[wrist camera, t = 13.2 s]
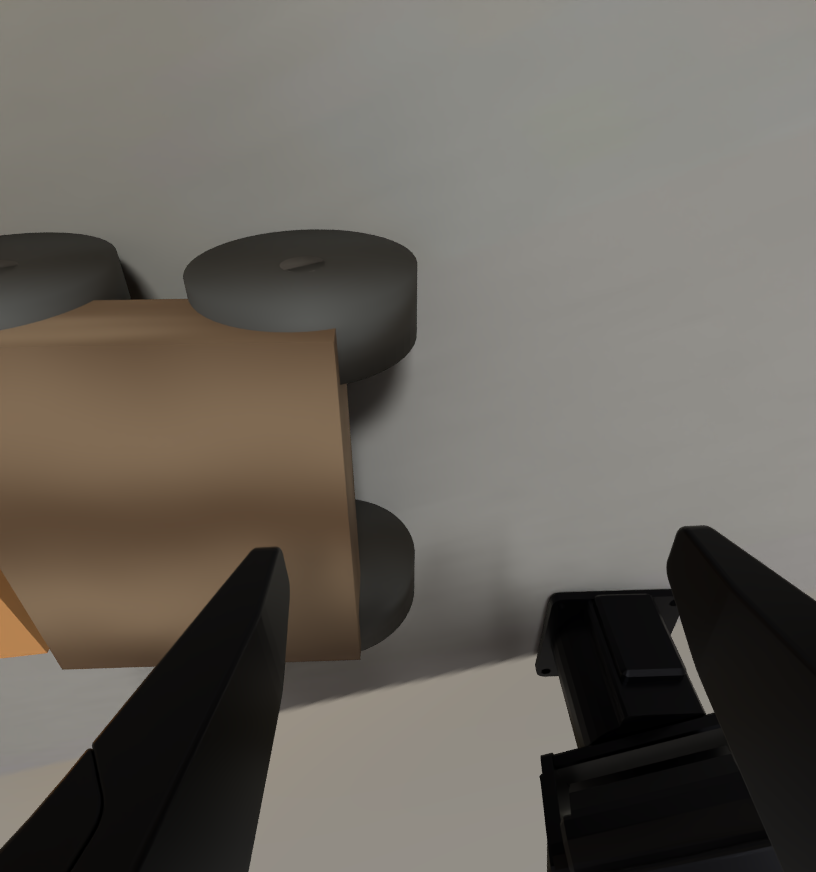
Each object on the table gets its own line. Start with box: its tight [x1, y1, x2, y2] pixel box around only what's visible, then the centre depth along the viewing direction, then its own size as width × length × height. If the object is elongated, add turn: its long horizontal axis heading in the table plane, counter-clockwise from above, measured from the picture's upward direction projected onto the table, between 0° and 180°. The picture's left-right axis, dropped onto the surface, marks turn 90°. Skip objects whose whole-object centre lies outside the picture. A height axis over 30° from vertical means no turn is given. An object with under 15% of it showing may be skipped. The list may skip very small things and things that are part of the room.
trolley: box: [0, 230, 417, 669], centre depth 19 cm, size 13×14×6 cm
